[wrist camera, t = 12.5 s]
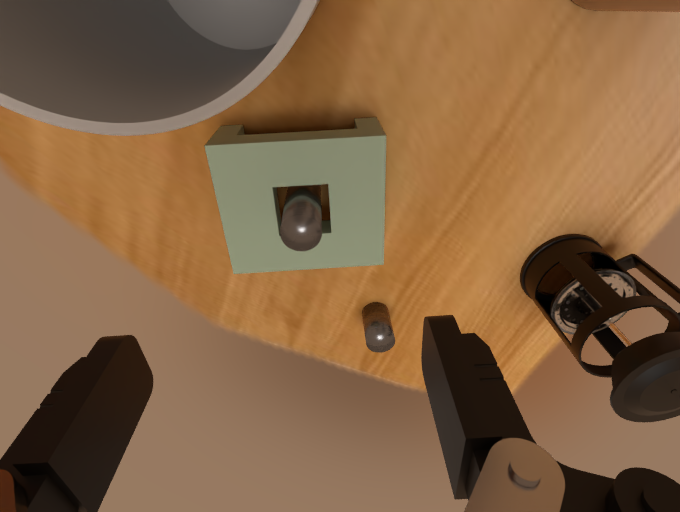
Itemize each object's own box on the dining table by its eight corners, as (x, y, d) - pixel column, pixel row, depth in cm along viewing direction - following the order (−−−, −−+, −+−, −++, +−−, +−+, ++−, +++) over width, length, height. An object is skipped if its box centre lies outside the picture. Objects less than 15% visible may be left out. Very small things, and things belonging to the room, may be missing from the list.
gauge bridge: (376, 117, 36) (386, 135, 30) (375, 233, 42) (383, 264, 37) (220, 125, 35) (204, 145, 30) (243, 241, 42) (233, 273, 37)
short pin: (388, 301, 47) (395, 330, 43) (387, 321, 49) (394, 351, 45) (361, 303, 47) (366, 332, 43) (362, 323, 49) (366, 353, 45)
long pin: (319, 167, 38) (320, 213, 29) (322, 198, 40) (323, 250, 31) (286, 169, 38) (277, 216, 29) (290, 200, 39) (282, 252, 31)
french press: (526, 314, 49) (662, 514, 30) (503, 260, 45) (647, 455, 25) (623, 273, 47) (843, 464, 27) (610, 211, 42) (862, 388, 23)
